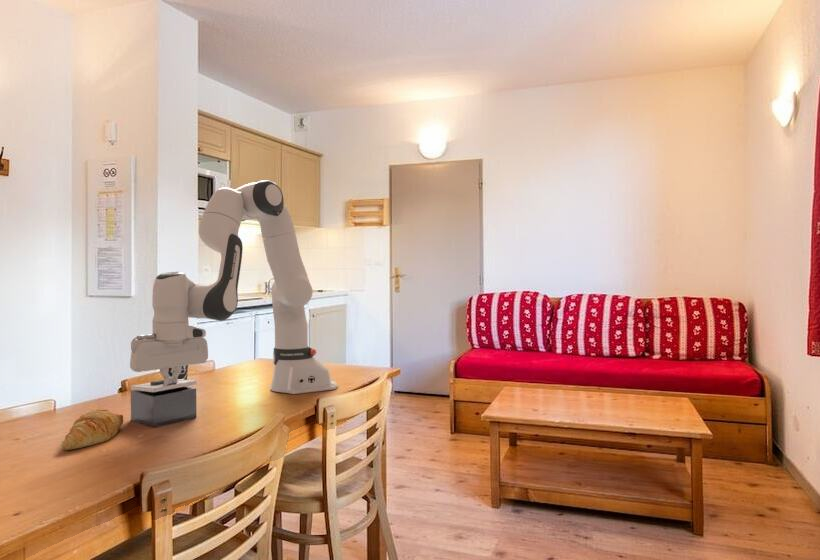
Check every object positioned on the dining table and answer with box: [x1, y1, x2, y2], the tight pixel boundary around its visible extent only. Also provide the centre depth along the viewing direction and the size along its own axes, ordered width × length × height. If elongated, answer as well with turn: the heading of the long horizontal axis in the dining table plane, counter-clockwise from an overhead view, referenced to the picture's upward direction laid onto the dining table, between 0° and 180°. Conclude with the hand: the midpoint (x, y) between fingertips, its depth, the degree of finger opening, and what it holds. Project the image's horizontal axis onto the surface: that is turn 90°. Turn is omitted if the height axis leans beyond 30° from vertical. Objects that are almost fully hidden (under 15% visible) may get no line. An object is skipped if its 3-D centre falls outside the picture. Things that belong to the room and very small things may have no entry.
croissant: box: [61, 409, 124, 451], centre depth 128 cm, size 21×10×8 cm, turn 179°
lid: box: [130, 379, 197, 392], centre depth 145 cm, size 12×12×2 cm
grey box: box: [130, 386, 197, 428], centre depth 145 cm, size 12×12×8 cm
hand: (170, 383), depth 142 cm, fingers closed, pressing on lid
